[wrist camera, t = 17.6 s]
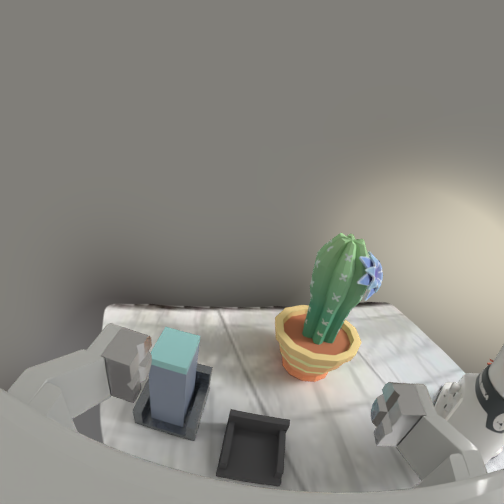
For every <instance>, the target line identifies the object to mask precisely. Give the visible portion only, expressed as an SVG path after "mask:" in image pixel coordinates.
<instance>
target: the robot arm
mask: <svg viewBox="0 0 504 504" xmlns="http://www.w3.org/2000/svg"><path fill="white" fill-rule="evenodd" d="M151 346H152V342H151V337H150V336H148V335H145V334H142V333H139V332H136V331H133V330H130V329H127V328H124V327H120V326H118V325H115V324H112V323H110V324H108V325H107V326H106V327H105V328H104V329H103V330H102V332H101V333H100V334H99V335H98V337H97V338H96V339H95V340H94V342H93V343H92V344H91V345H90V347H89V348H88V349H87V350H83V349H82V350H79V351H77V352H74V353H71V354H68V355H65V356H62V357H59V358H57V359H54V360H51V361H48V362H45V363H42V364H39V365H37V366H33V367H30V368H27V369H26V370H25V371H24V372H23V373H22V374H21V376H20V377H19V378H18V379H17V380H16V381H15V383H14V384H13V385H12V386H11V387H10V388H9V390H8V391H7V392H6V391H5V390H3V389H2V388H0V504H504V469H501V470H498V471H494V472H491V473H487V470H486V467H485V465H486V464H487V463H488V461H489V460H490V459H491V458H493V457H496V456H498V455H499V454H500V453H501V451H502V446H503V445H504V345H503V346H502V348H501V350H500V352H499V353H498V355H497V357H496V358H495V360H494V361H493V360H491V359H490V361H492V362H493V363H487V364H488V366H487V367H486V368H485V369H484V370H483V371H482V372H481V373H480V374H475V373H468V374H465V375H463V377H462V378H461V379H460V380H459V382H458V383H456V382H447V383H445V384H444V386H443V387H442V390H441V392H440V394H439V397H438V399H437V401H436V403H435V405H433V402H432V400H431V397H430V395H429V392H428V390H427V387H426V386H425V385H424V384H409V383H394V382H388V383H387V384H385V386H384V387H383V389H382V391H383V394H382V395H381V396H379V397H377V398H376V400H375V401H374V403H373V405H372V409H371V420H372V423H373V424H374V425H375V426H376V429H375V430H374V435H375V441H376V446H397V447H396V448H397V449H398V450H399V452H400V453H401V454H402V456H403V457H404V458H405V460H406V461H407V462H408V463H409V465H410V466H411V467H412V469H413V470H414V471H415V473H416V474H417V475H418V477H419V478H420V479H421V482H419V483H418V484H417V485H416V486H414V487H413V488H412V489H404V490H393V491H381V492H359V493H326V492H305V491H291V490H281V489H272V488H264V487H256V486H250V485H244V484H238V483H232V482H227V481H222V480H217V479H212V478H208V477H203V476H199V475H195V474H191V473H187V472H183V471H180V470H176V469H173V468H169V467H166V466H163V465H159V464H156V463H153V462H150V461H147V460H144V459H141V458H138V457H136V456H133V455H130V454H127V453H125V452H122V451H119V450H117V449H114V448H112V447H109V446H107V445H105V444H102V443H100V442H98V441H95V440H93V439H91V438H88V437H86V436H84V435H82V434H80V433H78V432H77V429H76V427H75V425H74V422H73V420H72V419H73V418H75V417H76V416H78V415H80V414H82V413H83V412H85V411H87V410H89V409H90V408H92V407H94V406H95V405H97V404H99V403H101V402H102V401H104V400H106V399H108V398H109V397H111V395H112V396H115V397H117V398H120V399H123V400H126V401H129V402H132V403H134V402H135V400H136V398H137V396H138V394H139V392H140V390H141V382H143V381H145V380H146V379H147V377H148V374H149V371H150V368H151V363H152V355H151V353H150V352H149V349H150V347H151Z"/></svg>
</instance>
